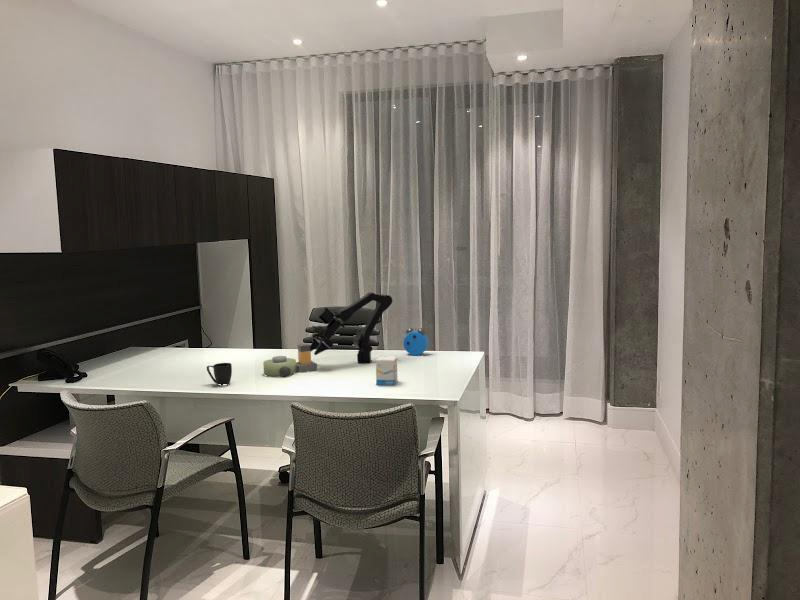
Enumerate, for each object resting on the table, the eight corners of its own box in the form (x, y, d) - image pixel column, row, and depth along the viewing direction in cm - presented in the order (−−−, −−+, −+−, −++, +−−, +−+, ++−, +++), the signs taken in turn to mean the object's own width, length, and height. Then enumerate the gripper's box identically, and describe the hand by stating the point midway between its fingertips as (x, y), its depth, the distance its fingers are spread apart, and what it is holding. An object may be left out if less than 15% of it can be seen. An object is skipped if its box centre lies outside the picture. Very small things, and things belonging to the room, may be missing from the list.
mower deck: (308, 365, 342) (307, 350, 341) (320, 372, 324) (319, 356, 323) (259, 371, 330) (258, 355, 330) (269, 379, 313) (268, 362, 312)
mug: (213, 381, 311) (211, 362, 310) (235, 382, 308) (234, 362, 307) (203, 386, 303) (202, 366, 302) (227, 386, 300) (225, 366, 299)
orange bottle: (308, 368, 334) (307, 343, 332) (311, 370, 329) (310, 345, 328) (299, 369, 332) (297, 344, 330) (301, 371, 327) (300, 346, 326)
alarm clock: (429, 353, 362) (428, 327, 360) (426, 356, 356) (425, 329, 354) (406, 353, 366) (405, 327, 364) (403, 355, 360) (402, 328, 358)
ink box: (394, 385, 293) (393, 360, 291) (376, 385, 294) (375, 359, 293) (398, 381, 301) (397, 356, 300) (380, 380, 303) (379, 356, 302)
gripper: (314, 317, 340) (294, 340, 337) (326, 321, 323) (306, 346, 320) (329, 330, 344) (310, 353, 341) (341, 335, 328) (322, 359, 324)
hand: (311, 353), depth 331 cm, fingers open, 9 cm apart
